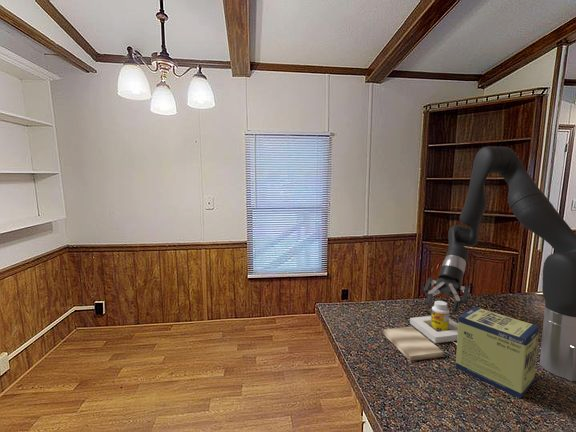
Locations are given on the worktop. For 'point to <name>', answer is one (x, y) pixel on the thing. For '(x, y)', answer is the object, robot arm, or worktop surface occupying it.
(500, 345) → the protein box
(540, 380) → the worktop surface
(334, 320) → the worktop surface
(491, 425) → the worktop surface
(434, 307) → the supplement bottle
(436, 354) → the birch board
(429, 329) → the collar stand
